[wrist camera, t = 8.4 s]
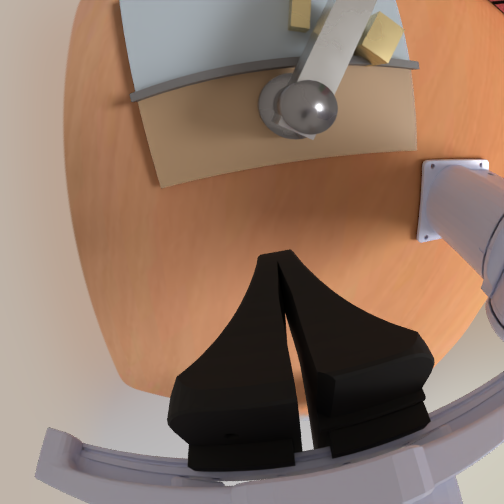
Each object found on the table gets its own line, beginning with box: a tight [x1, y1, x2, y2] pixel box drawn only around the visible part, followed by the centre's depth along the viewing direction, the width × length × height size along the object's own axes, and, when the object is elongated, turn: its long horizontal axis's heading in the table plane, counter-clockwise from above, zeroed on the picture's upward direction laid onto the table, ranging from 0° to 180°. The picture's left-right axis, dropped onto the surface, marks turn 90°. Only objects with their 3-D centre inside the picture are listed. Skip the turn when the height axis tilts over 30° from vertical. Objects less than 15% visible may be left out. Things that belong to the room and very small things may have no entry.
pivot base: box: [257, 73, 307, 140], centre depth 15 cm, size 4×4×2 cm
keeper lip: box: [288, 0, 311, 33], centre depth 12 cm, size 3×1×1 cm, turn 176°
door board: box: [119, 0, 419, 188], centre depth 14 cm, size 20×16×2 cm
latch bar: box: [271, 0, 377, 140], centre depth 11 cm, size 10×3×4 cm, turn 158°
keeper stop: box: [352, 11, 404, 67], centre depth 12 cm, size 3×2×3 cm, turn 155°
